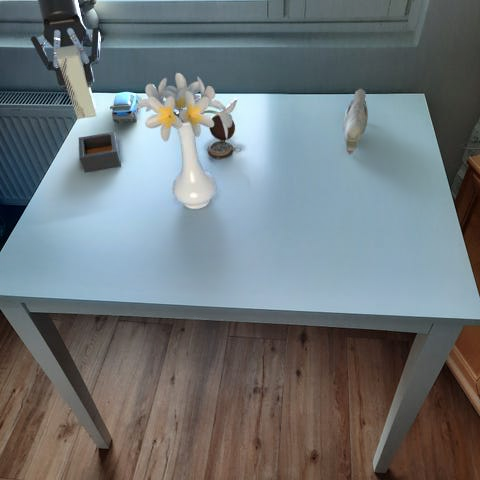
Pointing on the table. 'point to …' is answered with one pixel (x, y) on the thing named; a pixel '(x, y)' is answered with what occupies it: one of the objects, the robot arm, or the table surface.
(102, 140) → the holder
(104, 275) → the table surface
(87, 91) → the box
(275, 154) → the table surface
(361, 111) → the decorative bird
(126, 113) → the toy car
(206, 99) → the flower vase
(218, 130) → the compass
